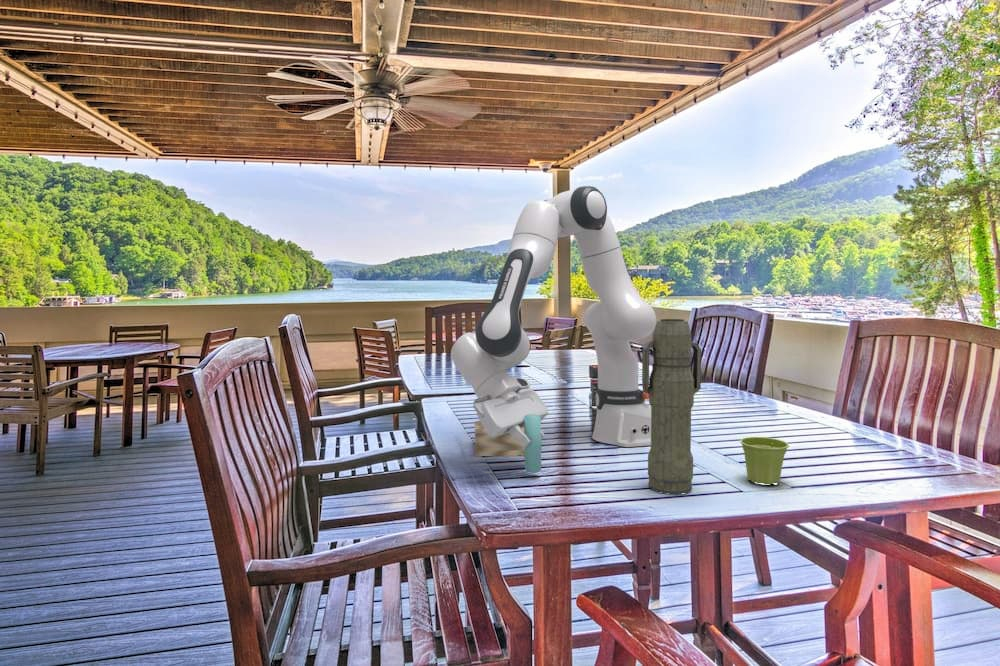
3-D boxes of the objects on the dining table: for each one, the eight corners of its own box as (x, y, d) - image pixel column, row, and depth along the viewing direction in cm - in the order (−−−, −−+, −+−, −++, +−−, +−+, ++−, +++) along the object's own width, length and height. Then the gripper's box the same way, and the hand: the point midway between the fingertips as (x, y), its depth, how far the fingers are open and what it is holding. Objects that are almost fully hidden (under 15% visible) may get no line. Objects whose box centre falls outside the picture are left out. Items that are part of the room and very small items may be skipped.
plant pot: (785, 492, 114) (786, 450, 114) (735, 484, 119) (736, 444, 119) (790, 479, 122) (791, 440, 121) (743, 472, 127) (743, 434, 126)
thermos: (708, 492, 114) (711, 319, 112) (654, 497, 112) (656, 320, 110) (685, 479, 123) (687, 318, 121) (634, 482, 120) (636, 319, 118)
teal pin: (540, 466, 127) (539, 414, 126) (542, 471, 123) (541, 417, 122) (524, 467, 126) (523, 414, 126) (525, 472, 123) (525, 418, 122)
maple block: (525, 441, 156) (525, 420, 155) (531, 455, 142) (531, 432, 141) (474, 442, 155) (474, 421, 154) (475, 457, 141) (475, 433, 140)
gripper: (477, 391, 119) (516, 443, 114) (531, 378, 136) (566, 423, 130) (462, 409, 122) (498, 461, 117) (516, 395, 139) (550, 440, 133)
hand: (535, 441), depth 124 cm, fingers closed on teal pin, 4 cm apart
